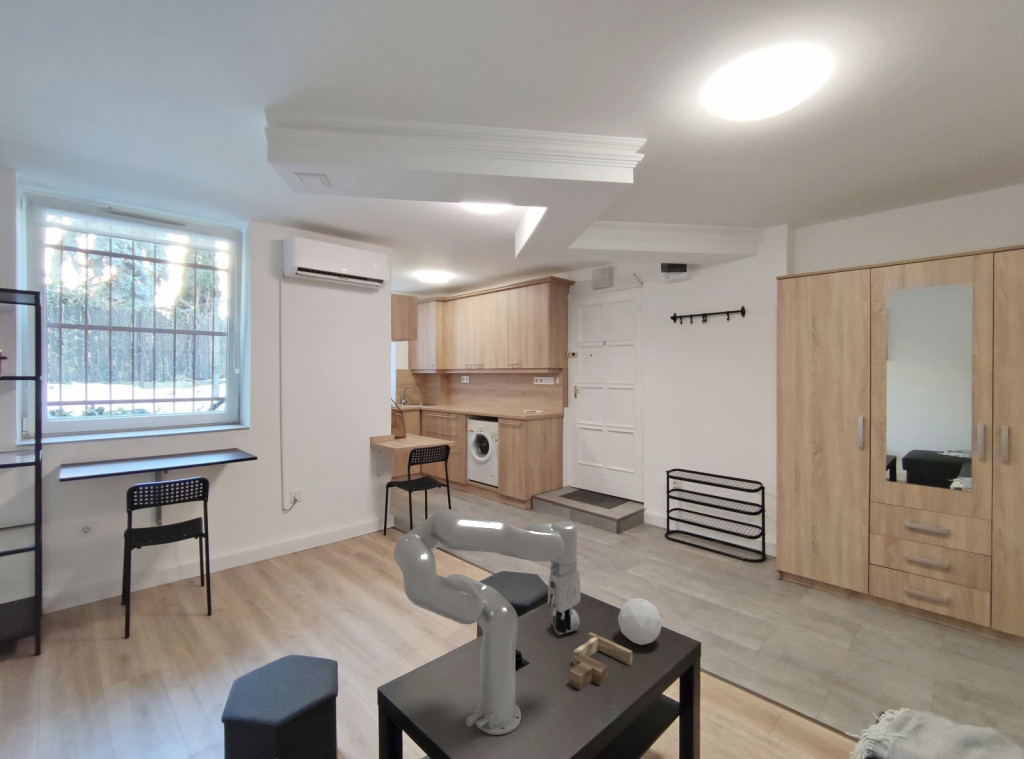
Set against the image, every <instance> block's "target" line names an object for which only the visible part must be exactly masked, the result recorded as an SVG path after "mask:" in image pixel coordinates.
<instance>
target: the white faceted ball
mask: <svg viewBox="0 0 1024 759" xmlns="http://www.w3.org/2000/svg"><path fill="white" fill-rule="evenodd" d="M620 607H621V608H620V610H619V614H618V617H617V620H618V625H619V628H620V631H621V633H622V634H623V635H624V636H625V637H626V638H627V640H628V639H629V640H630V642H632V643H634V644H637V645H639V646H642V645H647V644H651V643H654V642H655V640H656V639H657V638H658V637H659V636H660V634H661V630H662V625H663V622H662V618H661V615H660V613H659V609H658V608H657V607H656V606H655V605H653V603H651V602H650V601H648V599H645V598H641V597H636V598H631V599H628V601H626V602H625V603H624V604H622V605H621V606H620Z"/></svg>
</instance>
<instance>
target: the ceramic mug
mask: <svg viewBox="0 0 1024 759" xmlns="http://www.w3.org/2000/svg"><path fill="white" fill-rule="evenodd" d="M560 613H561V612H560ZM551 623H552V627H553V629H554V632H555V633H556V634H558V635H560V636H561V635H565V634H568V633H571V632H575V631H577V630H579V628H580V626H581V619H580V614H579V613H578V612H577V610H575V609H574V608H573V609H572V615H571V630H566V633H562V632H560V631H558V630H557V629H556V617H555V616H552V615H551Z"/></svg>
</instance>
